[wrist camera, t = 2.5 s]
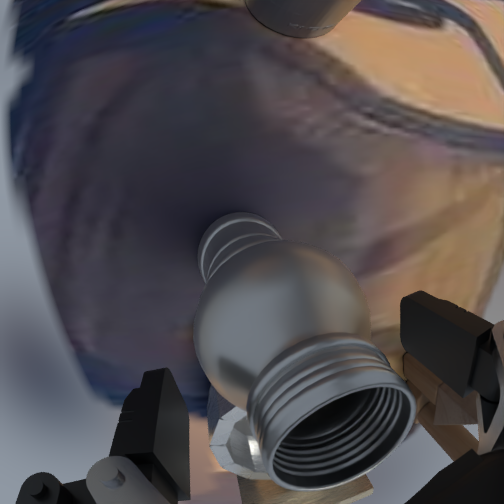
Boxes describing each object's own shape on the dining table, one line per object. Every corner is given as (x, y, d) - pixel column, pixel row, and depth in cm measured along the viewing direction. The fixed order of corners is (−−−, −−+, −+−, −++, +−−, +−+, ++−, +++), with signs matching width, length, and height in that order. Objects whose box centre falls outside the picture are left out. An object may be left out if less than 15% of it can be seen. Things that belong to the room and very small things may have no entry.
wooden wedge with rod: (425, 340, 30) (527, 420, 13) (422, 397, 33) (496, 473, 16) (401, 354, 30) (502, 446, 13) (402, 410, 33) (473, 493, 15)
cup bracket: (191, 349, 26) (189, 449, 14) (321, 313, 27) (389, 388, 15) (233, 450, 29) (248, 532, 18) (332, 421, 31) (374, 492, 19)
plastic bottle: (207, 296, 25) (231, 532, 5) (190, 217, 23) (133, 358, 4) (281, 280, 25) (431, 463, 6) (269, 202, 24) (482, 265, 5)
